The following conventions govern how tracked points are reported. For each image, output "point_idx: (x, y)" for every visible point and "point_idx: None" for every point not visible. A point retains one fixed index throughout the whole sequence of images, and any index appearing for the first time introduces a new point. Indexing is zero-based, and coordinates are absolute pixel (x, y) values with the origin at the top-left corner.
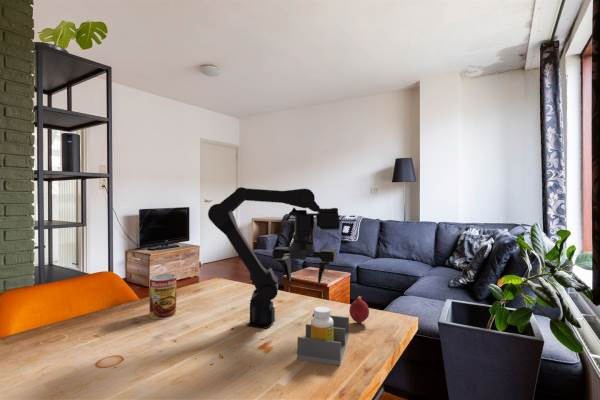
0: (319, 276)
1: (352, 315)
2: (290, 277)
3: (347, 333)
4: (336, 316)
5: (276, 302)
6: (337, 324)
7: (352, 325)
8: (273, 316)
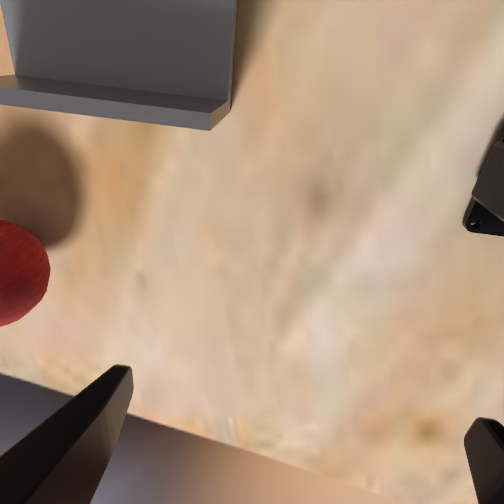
0: (55, 440)
1: (17, 236)
2: (485, 481)
3: (17, 62)
4: (30, 97)
5: (447, 420)
6: (53, 84)
7: (53, 217)
8: (496, 184)
